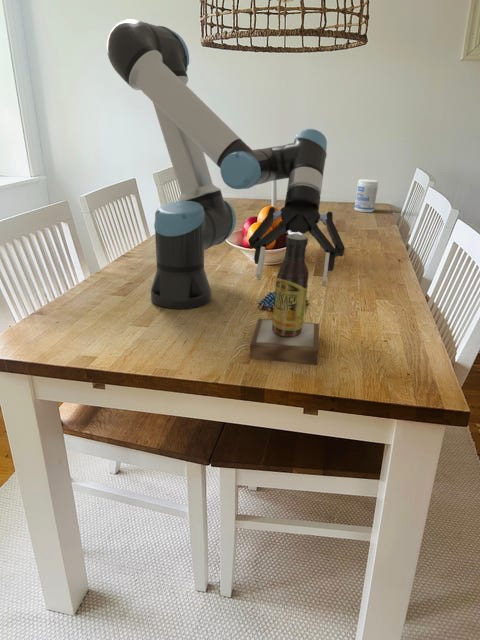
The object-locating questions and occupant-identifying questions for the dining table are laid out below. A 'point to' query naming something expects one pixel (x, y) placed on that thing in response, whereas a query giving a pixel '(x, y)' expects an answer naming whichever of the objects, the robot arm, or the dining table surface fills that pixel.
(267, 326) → the walnut plinth
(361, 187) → the supplement tub
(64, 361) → the dining table surface
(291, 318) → the sauce bottle
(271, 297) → the woven mat
